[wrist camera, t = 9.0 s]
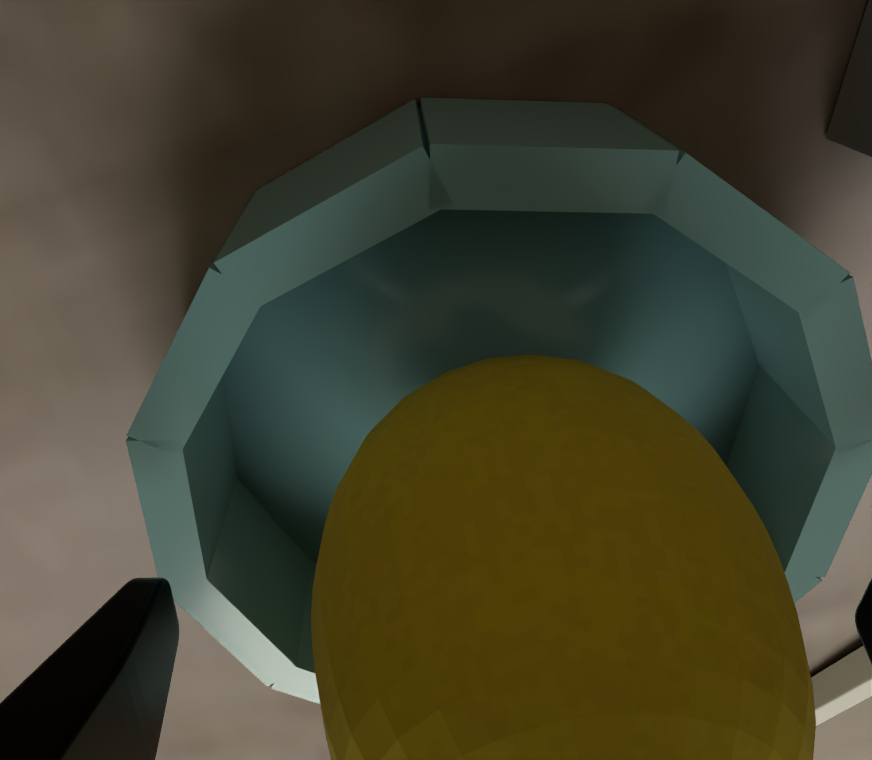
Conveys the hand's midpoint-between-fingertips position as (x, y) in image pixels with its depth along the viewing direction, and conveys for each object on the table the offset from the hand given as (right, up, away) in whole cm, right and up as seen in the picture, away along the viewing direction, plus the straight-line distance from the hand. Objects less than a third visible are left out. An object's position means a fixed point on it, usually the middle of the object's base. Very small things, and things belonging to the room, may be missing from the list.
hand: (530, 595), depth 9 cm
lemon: (0, +2, +3) cm, 4 cm away
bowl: (0, +2, +4) cm, 4 cm away
